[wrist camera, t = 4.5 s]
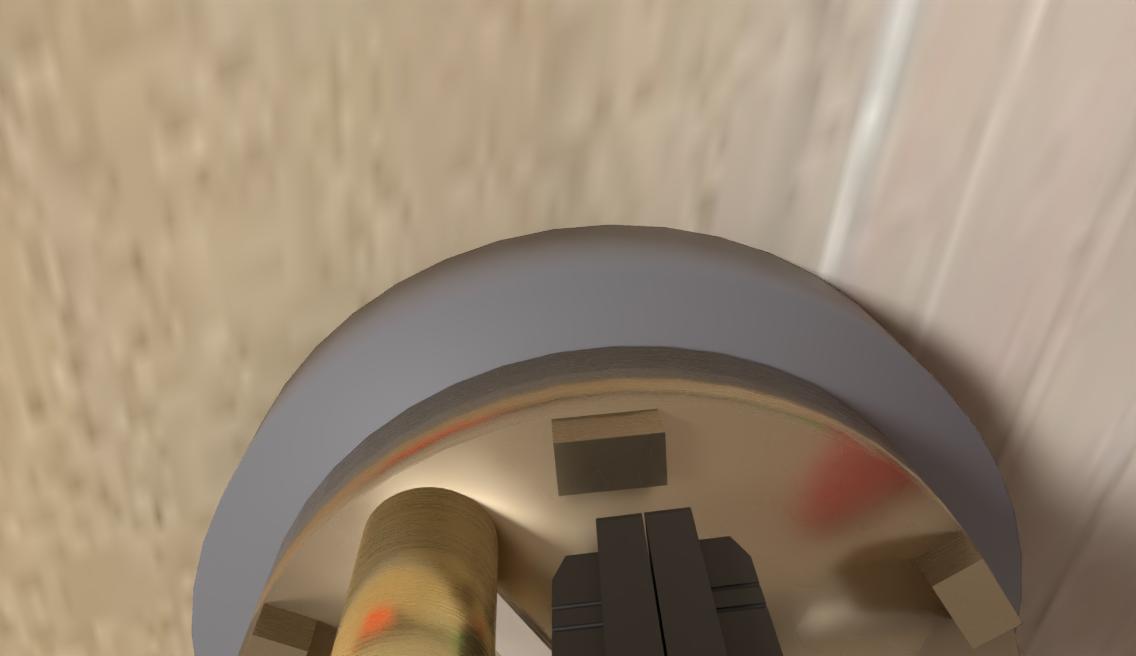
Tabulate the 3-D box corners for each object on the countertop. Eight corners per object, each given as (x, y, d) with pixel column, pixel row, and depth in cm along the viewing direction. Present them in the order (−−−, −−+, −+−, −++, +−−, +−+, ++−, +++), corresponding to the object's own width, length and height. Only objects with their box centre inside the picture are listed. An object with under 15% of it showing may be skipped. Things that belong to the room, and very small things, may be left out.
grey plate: (1108, 500, 23) (1195, 579, 20) (651, 906, 28) (667, 1015, 25) (526, 44, 18) (529, 61, 15) (98, 647, 23) (37, 748, 20)
